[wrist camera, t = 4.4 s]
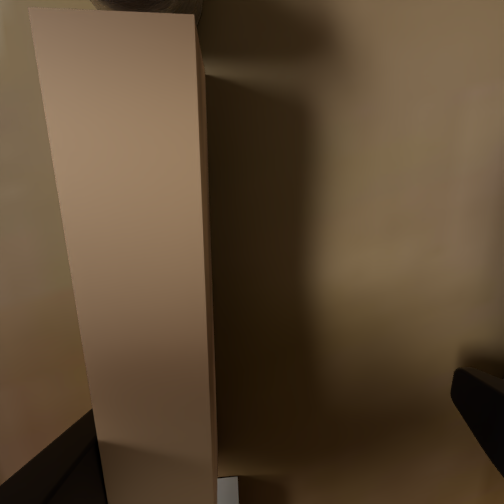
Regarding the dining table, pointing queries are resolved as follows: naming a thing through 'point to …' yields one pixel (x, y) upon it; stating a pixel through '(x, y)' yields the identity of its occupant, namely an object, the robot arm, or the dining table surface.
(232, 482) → the stop block
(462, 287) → the dining table surface
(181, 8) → the pivot pin
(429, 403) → the dining table surface
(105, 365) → the leg bar
